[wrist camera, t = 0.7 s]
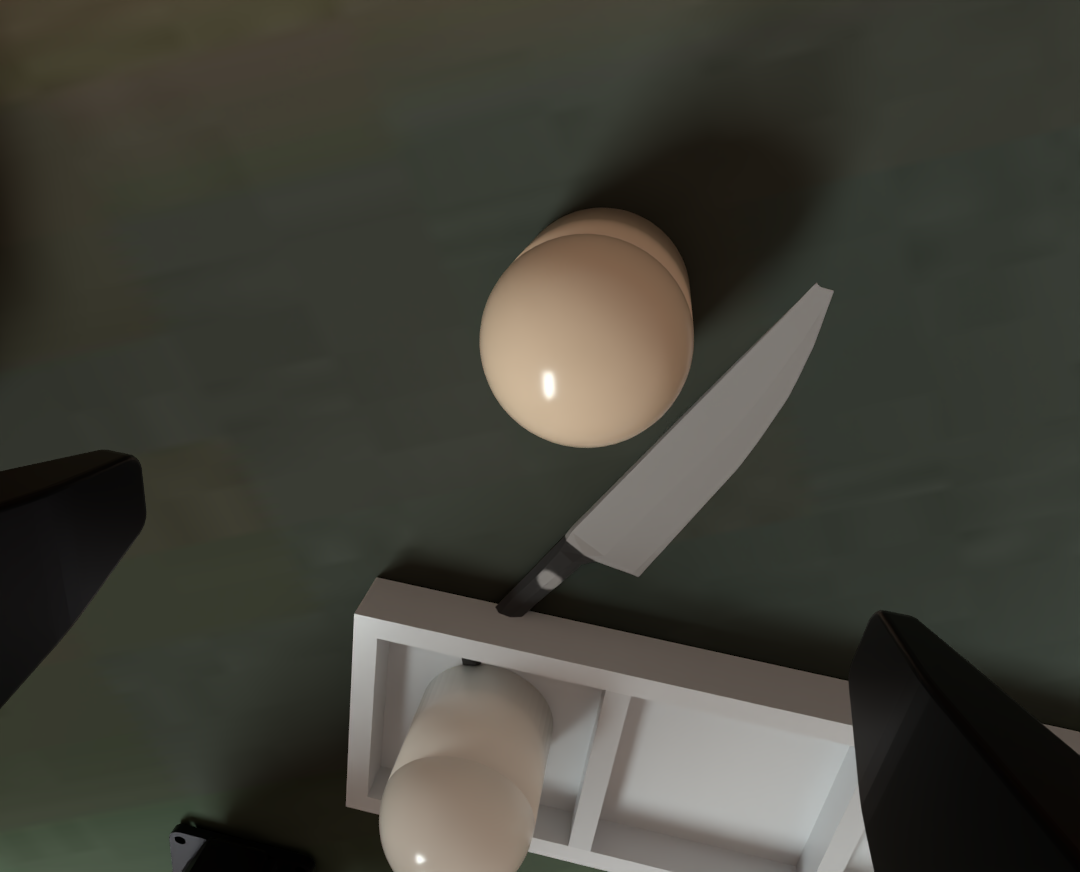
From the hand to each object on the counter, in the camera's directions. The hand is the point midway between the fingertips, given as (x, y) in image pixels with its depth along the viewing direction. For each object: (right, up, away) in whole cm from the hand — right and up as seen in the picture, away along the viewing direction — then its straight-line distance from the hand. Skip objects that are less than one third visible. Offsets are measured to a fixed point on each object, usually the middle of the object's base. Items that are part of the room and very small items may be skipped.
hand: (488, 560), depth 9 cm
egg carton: (+7, -10, +18) cm, 21 cm away
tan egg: (+2, +5, +12) cm, 13 cm away
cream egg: (-1, -9, +18) cm, 20 cm away
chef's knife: (+4, 0, +15) cm, 15 cm away
